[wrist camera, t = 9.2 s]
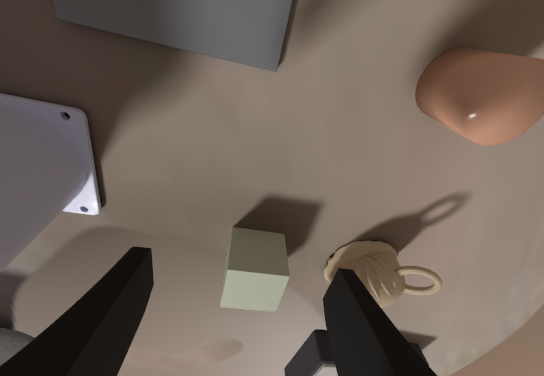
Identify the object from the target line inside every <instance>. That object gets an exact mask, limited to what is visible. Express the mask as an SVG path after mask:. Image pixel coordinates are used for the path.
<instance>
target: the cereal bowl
mask: <svg viewBox="0 0 544 376" xmlns="http://www.w3.org/2000/svg"><path fill="white" fill-rule="evenodd" d="M33 339H35V338H34V337H32V336H29V335H27V334H25V333H22V332H19V331H15V330H10V329H5V328H0V366H1V365H2V364H3V363H5V362H6V361H7V360H8V359H10V358H11V357H12V356H13V355H15V354H16V353H17V352H18V351H20V350H21V349H22V348H24V347H25V346H26V345H27V344H28V343H30V342H31V341H32V340H33Z"/></svg>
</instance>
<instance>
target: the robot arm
mask: <svg viewBox="0 0 544 376" xmlns="http://www.w3.org/2000/svg"><path fill="white" fill-rule="evenodd" d="M64 112H66V113H68V114H69V116H70V118H68V117H67V116H65V114H64ZM85 207H86V208H85ZM87 208H88V209H87ZM61 211H66V212H74V213H81V214H89V215H97V214H99V212H100V211H101V202H100V196H99V190H98V183H97V177H96V171H95V165H94V158H93V152H92V146H91V139H90V133H89V127H88V120H87V116H86V114H85V113H84V112H83V111H82V110H81V109H78V108H75V107H69V106H64V105H59V104H54V103H49V102H44V101H38V100H33V99H28V98H23V97H18V96H13V95H8V94H2V93H0V272H1V271H2V270H3V269H4V268H5V267H6V266H7V265H8V264H9V263H10V262H11V261H12V260H13V259H14V258H15V257H16V256H17V255H18V254H19V253H20V252H21V251H22V250H23V249H24V248H25V247H26V246H27V245H28V244H29V243H30V242H31V241H32V240H33V239H34V238H35V237H36V236H37V235H38V234H39V233H40V232H41V231H42V230H43V229H44V228H45V227H46V226H47V225H48V224H49V223H50V222H51V221H52V220H53V219H54V218H55V217H56V216H57V215H58V214H59V213H60V212H61ZM153 284H154V282H153V267H152V254H151V248H143V247H132V248H130V250H128V252H127V253H126V254H125V255H124V256H123V257H122V258H121V259H120V260H119V261H118V262H117V263H116V264H115V265H114V266H113V267H112V268H111V270H109V271H108V272H107V273H106V274H105V275H104V276H103V277H102V278H101V279H100V280H99V281H98V282H97V283H96V284H95V285H94V286H93V287H92V288H91V289H90V290H89V291H88V292H87V293H86V294H85V295H84V296H83V297H81V298H80V299H79V300H78V301H77V302H76V303H75V304H74V305H73V306H72V307H70V308H69V309H68V310H67V311H66V312H65V313H64V314H63V315H61V316H60V317H59V318H58V319H57V320H56V321H55V322H53V323H52V324H51V325H50V326H49V327H48V328H47V329H46V330H44V331H43V332H42V333H41V334H39V335H38V336H37V337H36V338H35V339H33V340H32V341H31V342H30V343H28V344H27V345H26V346H25V347H24V348H22V349H21V350H20V351H18V352H17V353H16V354H15V355H13V356H12V357H11V358H10V359H8V360H7V361H6V362H5V363H3V364H2V365H1V366H0V376H117V374H118V372H119V370H120V367H121V365H122V363H123V361H124V358H125V356H126V354H127V352H128V349H129V347H130V345H131V342H132V340H133V338H134V336H135V333H136V331H137V329H138V327H139V324H140V322H141V319H142V317H143V315H144V312H145V310H146V307H147V303H148V300H149V297H150V294H151V291H152V288H153ZM323 304H324V314H325V321H326V327H327V332H328V336H329V340H330V345H331V349H332V353H333V357H334V362H335V366H336V370H337V374H338V376H437V375H436V374H435V373H434V372H433V371H432V369H431V368H430V367H429V366H428V365H427V364H426V363H425V362H424V361H423V359H422V358H421V357H420V356H419V355H418V354H417V353H416V351H415V350H414V349H413V348H412V347H411V345H410V344H409V343H408V342H407V341H406V339H405V338H404V337H403V336H402V334H401V333H400V332H399V331H398V329H397V328H396V327H395V326H394V324H393V323H392V322H391V321H390V319H389V318H388V317H387V315H386V314H385V313H384V311H383V310H382V309H381V307H380V306H379V305H378V303H377V302H376V301H375V299H374V298H373V297H372V295H371V294H370V292H369V291H368V290H367V288H366V287H365V286H364V284H363V283H362V281H361V280H360V279H359V277H358V276H357V275H356V273H355V272H354V271H353V270H352V269H343V268H338V270H337V272H336V274H335V276H334V278H333V280H332V282H331V284H330V286H329V288H328V290H327V291H326V293H325V295H324V297H323Z"/></svg>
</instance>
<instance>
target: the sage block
mask: <svg viewBox="0 0 544 376" xmlns="http://www.w3.org/2000/svg"><path fill="white" fill-rule="evenodd" d="M289 277H290V275H289V267H288V259H287V251H286V243H285V234H281V233H274V232H266V231H259V230H252V229H244V228H237V227H232V233H231V238H230V243H229V248H228V254H227V259H226V266H225V273H224V281H223V289H222V296H221V303H220V307H228V308H239V309H250V310H262V311H273V312H275V311H276V309H277V307H278V304H279V302H280V299H281V297H282V294H283V292H284V289H285V287H286V284H287V282H288V279H289Z"/></svg>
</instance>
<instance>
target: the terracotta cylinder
mask: <svg viewBox="0 0 544 376" xmlns="http://www.w3.org/2000/svg"><path fill="white" fill-rule="evenodd" d="M415 97H416V103H417V105H418V107H419V109H420V110H421V111H422V112H423V113H424V114H426V115H428V116H429V117H431V118H433V119H435V120H436V121H438V122H440V123H441V124H443V125H445V126H447V127H448V128H450V129H452V130H454V131H455V132H457V133H459V134H460V135H462V136H464V137H466V138H467V139H469V140H471V141H472V142H474V143H476V144H479V145H485V146H491V145H497V144H502V143H505V142H507V141H510V140H512V139H514V138H516V137H518V136H519V135H521V134H523V133H524V132H525V131H527V130H528V129H529V128H531V127H532V126H533V125H534V124H535V123H536V122H537V121H538V120H539V119H540V118H541V117H542V116H543V114H544V60H543V59H538V58H532V57H525V56H519V55H512V54H505V53H498V52H492V51H485V50H478V49H471V48H462V47H461V48H455V49H451V50H448V51H446V52H444V53H442V54H441V55H439V56H438V57H436V58H435V59H434V60H433V61H432V62H431V63H430V64H429V65H428V66H427V67H426V68H425V70H424V71H423V73H422V75H421V76H420V78H419V81H418V83H417V87H416V94H415Z"/></svg>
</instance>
